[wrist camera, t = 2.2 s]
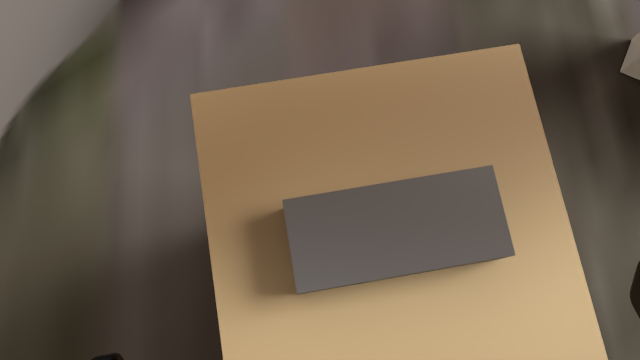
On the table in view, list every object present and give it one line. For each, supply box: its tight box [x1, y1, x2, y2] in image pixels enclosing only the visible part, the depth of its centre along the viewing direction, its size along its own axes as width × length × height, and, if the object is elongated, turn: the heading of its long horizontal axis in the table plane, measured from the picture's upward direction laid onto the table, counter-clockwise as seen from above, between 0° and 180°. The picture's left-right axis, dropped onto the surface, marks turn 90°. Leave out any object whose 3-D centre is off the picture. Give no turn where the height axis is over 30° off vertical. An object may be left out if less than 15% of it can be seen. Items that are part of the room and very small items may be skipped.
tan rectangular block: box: [190, 44, 608, 360], centre depth 12 cm, size 5×5×12 cm
